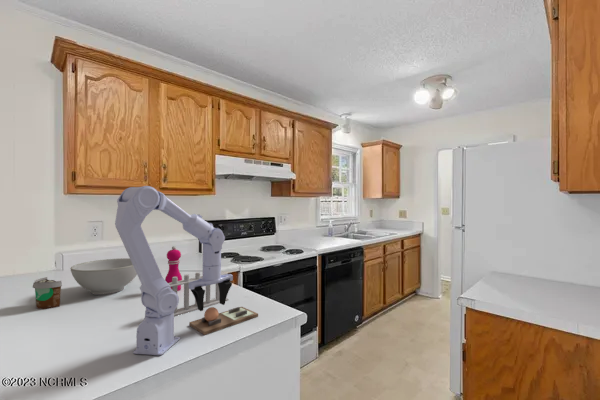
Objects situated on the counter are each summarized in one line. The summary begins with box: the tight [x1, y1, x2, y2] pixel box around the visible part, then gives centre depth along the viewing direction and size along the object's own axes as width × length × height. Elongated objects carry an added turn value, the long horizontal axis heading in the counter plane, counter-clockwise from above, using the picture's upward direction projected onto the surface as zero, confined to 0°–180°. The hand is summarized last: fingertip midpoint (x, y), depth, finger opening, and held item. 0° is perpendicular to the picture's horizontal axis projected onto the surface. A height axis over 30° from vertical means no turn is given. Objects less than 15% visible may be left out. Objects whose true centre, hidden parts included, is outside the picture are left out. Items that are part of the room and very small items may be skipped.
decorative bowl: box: [69, 257, 138, 295], centre depth 130 cm, size 27×27×12 cm
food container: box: [32, 276, 63, 310], centre depth 109 cm, size 12×6×10 cm, turn 62°
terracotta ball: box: [203, 306, 219, 322], centre depth 93 cm, size 4×4×4 cm
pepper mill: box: [164, 245, 183, 292], centre depth 131 cm, size 7×7×20 cm
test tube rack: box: [168, 271, 229, 318], centre depth 109 cm, size 25×4×13 cm, turn 140°
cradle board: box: [188, 306, 259, 336], centre depth 96 cm, size 20×10×2 cm, turn 136°
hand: (211, 306), depth 93 cm, fingers open, 7 cm apart
